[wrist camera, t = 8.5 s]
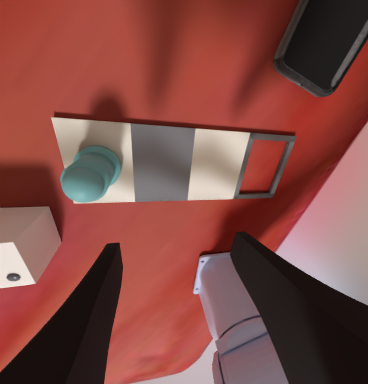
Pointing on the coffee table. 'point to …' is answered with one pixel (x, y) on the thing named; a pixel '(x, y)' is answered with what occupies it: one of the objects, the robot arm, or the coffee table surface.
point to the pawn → (90, 174)
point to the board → (169, 159)
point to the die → (26, 244)
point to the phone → (322, 43)
